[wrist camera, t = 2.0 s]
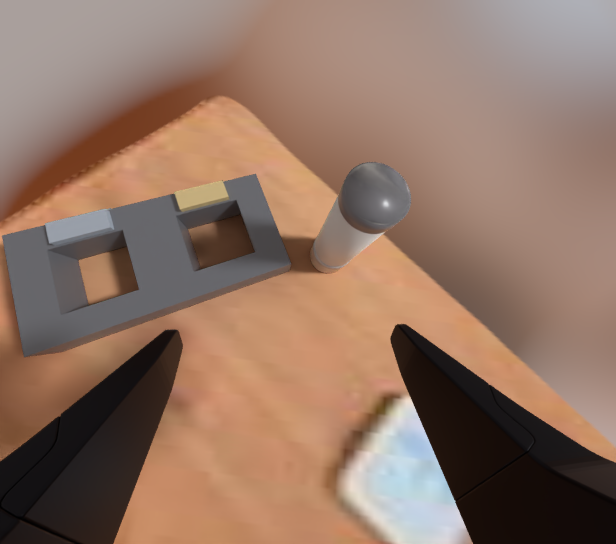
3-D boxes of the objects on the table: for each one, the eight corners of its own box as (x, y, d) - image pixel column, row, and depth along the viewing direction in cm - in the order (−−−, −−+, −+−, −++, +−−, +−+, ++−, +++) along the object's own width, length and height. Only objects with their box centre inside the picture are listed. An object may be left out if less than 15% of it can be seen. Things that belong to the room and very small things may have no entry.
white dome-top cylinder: (322, 280, 24) (370, 238, 12) (302, 249, 25) (330, 178, 13) (352, 262, 25) (424, 206, 13) (332, 232, 26) (385, 152, 14)
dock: (61, 352, 19) (16, 358, 16) (39, 244, 21) (-7, 229, 17) (289, 271, 24) (291, 262, 21) (256, 188, 25) (254, 168, 22)
